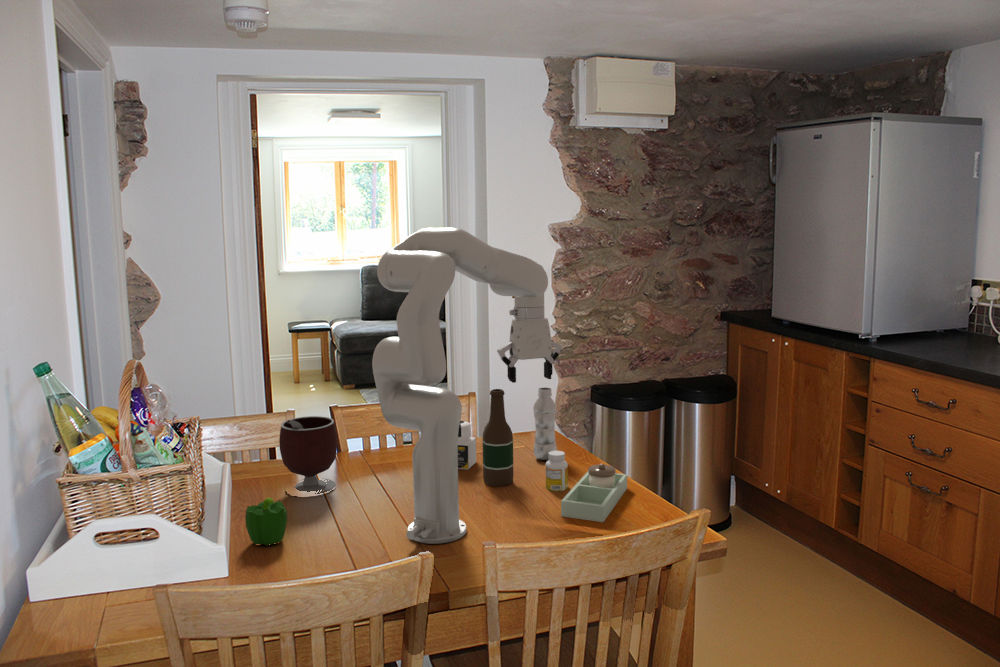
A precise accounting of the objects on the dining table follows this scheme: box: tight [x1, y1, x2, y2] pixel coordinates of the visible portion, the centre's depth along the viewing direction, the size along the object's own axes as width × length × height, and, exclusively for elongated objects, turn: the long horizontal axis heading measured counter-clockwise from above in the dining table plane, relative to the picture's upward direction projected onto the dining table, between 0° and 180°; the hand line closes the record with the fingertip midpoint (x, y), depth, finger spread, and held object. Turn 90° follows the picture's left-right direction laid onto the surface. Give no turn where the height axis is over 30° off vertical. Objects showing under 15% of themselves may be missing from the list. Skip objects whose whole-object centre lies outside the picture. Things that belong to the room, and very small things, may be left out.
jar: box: [587, 463, 616, 489], centre depth 180 cm, size 6×6×7 cm
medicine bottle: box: [458, 420, 478, 471], centre depth 206 cm, size 7×7×12 cm
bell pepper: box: [244, 497, 288, 546], centre depth 157 cm, size 8×8×10 cm
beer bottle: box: [482, 388, 514, 488], centre depth 191 cm, size 8×8×24 cm
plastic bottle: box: [532, 387, 558, 461], centre depth 209 cm, size 6×7×20 cm
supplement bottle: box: [545, 450, 569, 492], centre depth 185 cm, size 5×5×10 cm
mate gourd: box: [278, 415, 338, 494], centre depth 187 cm, size 16×14×20 cm
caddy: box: [560, 471, 628, 523], centre depth 175 cm, size 22×10×4 cm, turn 157°
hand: (530, 379), depth 192 cm, fingers open, 9 cm apart
